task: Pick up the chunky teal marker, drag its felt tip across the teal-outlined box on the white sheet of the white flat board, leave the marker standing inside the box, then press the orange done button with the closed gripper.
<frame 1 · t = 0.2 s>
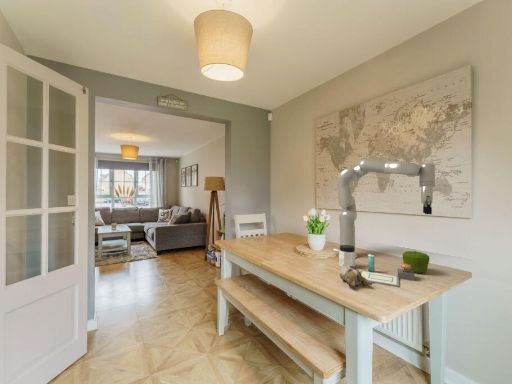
hand: (427, 213, 142), 31 cm above the table, fingers open, 9 cm apart
jar: (347, 267, 141), on the table
white flat board: (378, 278, 121), on the table
apple: (415, 271, 132), on the table
button housing: (405, 277, 123), on the table
done button: (405, 269, 123), point 4 cm above the table, slide at 0.0 cm
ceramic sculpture: (352, 284, 114), on the table
marker: (371, 271, 132), on the table
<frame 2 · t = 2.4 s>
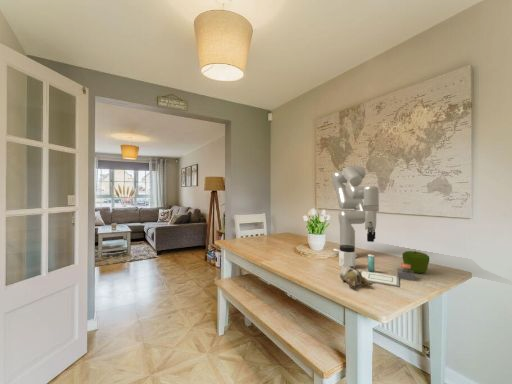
hand: (371, 240, 131), 17 cm above the table, fingers open, 9 cm apart
nothing on the table moved.
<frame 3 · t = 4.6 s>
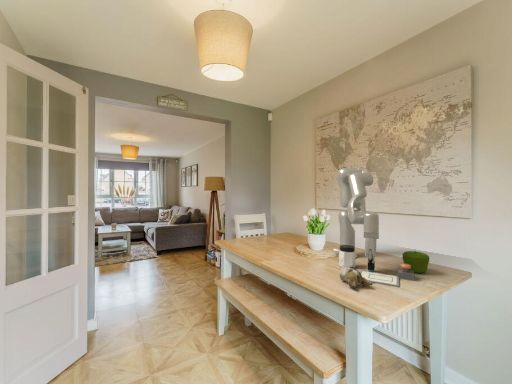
hand: (371, 268, 132), 2 cm above the table, fingers closed on marker, 3 cm apart
marker: (371, 271, 132), on the table, touching gripper
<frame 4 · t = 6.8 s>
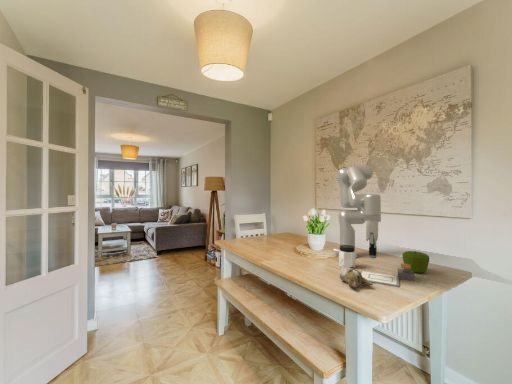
hand: (372, 254, 122), 12 cm above the table, fingers closed on marker, 3 cm apart
marker: (373, 257, 122), point 10 cm above the table, touching gripper
when the fingers open (3 cm above the table, at t = 9.3 s): marker stays where it is, resting on white flat board.
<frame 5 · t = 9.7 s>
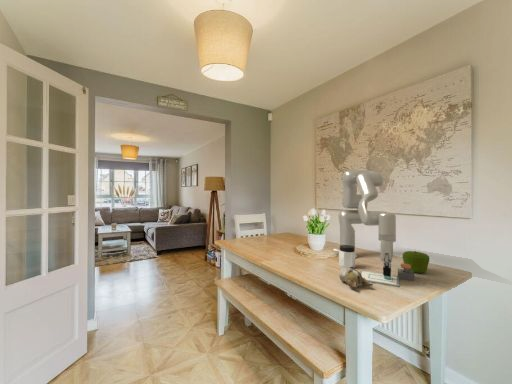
hand: (387, 273, 119), 3 cm above the table, fingers open, 8 cm apart
marker: (387, 278, 119), point 1 cm above the table, touching white flat board
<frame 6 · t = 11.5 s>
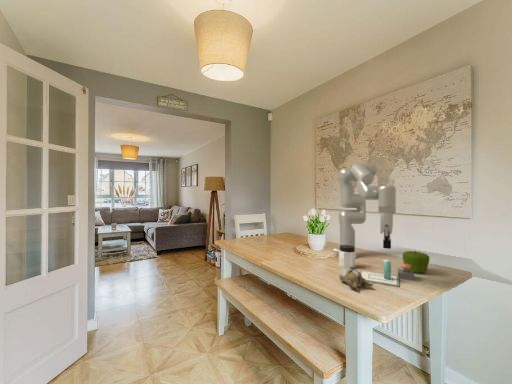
hand: (387, 247, 119), 16 cm above the table, fingers open, 3 cm apart
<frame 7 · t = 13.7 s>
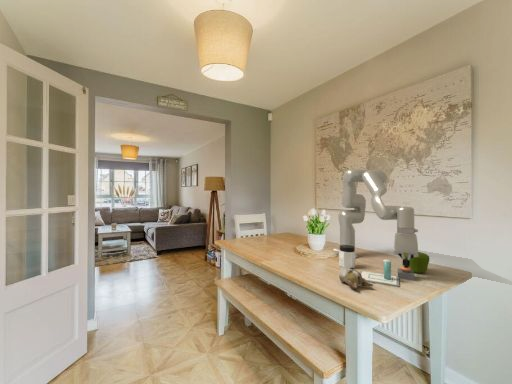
hand: (406, 267, 123), 5 cm above the table, fingers closed
done button: (405, 271, 123), point 3 cm above the table, slide at 1.2 cm, touching gripper
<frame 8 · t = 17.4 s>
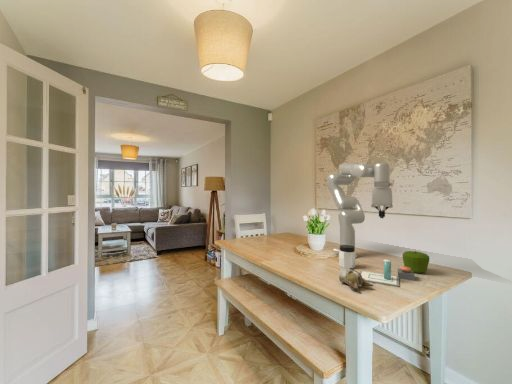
hand: (381, 218, 135), 29 cm above the table, fingers closed
done button: (405, 271, 123), point 3 cm above the table, slide at 1.3 cm
at the end: marker inside the target area (3.0 cm from its centre), point 0.6 cm above the table; marker tilted 1°; done button slide at 1.3 cm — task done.
